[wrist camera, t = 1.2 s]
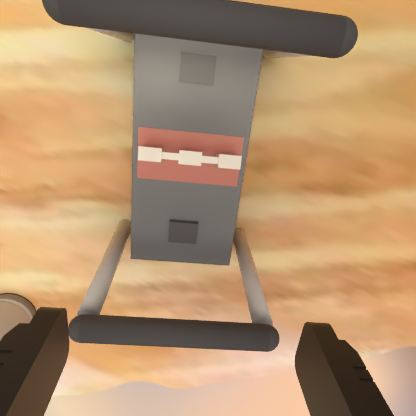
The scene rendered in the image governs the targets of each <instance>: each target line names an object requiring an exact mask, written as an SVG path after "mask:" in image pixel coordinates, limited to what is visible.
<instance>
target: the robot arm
mask: <svg viewBox="0 0 416 416" xmlns="http://www.w3.org/2000/svg"><path fill="white" fill-rule="evenodd" d="M68 352H69V333H68V321H67V311H66V309H65V308H51V307H40V308H39V309H38V310H37V312H36V313H35V315H34V317H33V318H32V320H31V321H30V323H19V324H18V325H16V326H15V327H14V328H13V329H11V330H10V331H9V332H7V333H6V334H5V335H4V336H3V337H2V339H1V340H0V416H44V413H45V411H46V409H47V406H48V404H49V402H50V399H51V397H52V394H53V392H54V390H55V387H56V385H57V383H58V380H59V378H60V375H61V373H62V371H63V368H64V366H65V363H66V360H67V357H68ZM295 369H296V373H297V377H298V379H299V383H300V386H301V389H302V392H303V394H304V398H305V401H306V404H307V407H308V409H309V412H310V415H311V416H394V415H393V413H392V412H391V410H390V408H389V407H388V405H387V403H386V401H385V399H384V398H383V396H382V394H381V392H380V391H379V389H378V387H377V385H376V384H375V382H373V378H372V377H371V375H370V373H369V372H368V370H366V366H365V365H364V363H363V361H362V359H361V357H360V356H359V354H358V352H357V351H356V350H354V349H353V348H352V347H351V346H350V345H349V344H348V343H347V342H346V341H345V340H338V338H337V336H336V334H335V332H334V330H333V328H332V327H331V325H330V324H328V323H313V322H306V323H305V325H304V327H303V331H302V334H301V337H300V341H299V344H298V348H297V351H296V355H295Z"/></svg>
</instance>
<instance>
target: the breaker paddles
mask: <svg viewBox="0 0 416 416" xmlns="http://www.w3.org/2000/svg"><path fill="white" fill-rule="evenodd" d="M163 159H168V160H178V164H184V165H195V166H201V163H211V164H215V167H217V168H227V169H238V170H240V168H241V159H242V156H236V155H225V154H216V157H210V156H202V152H194V151H184V150H179V154H178V153H168V152H164V149H162V148H153V147H142V146H138V160H141V161H152V162H163Z"/></svg>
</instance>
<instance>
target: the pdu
mask: <svg viewBox="0 0 416 416" xmlns="http://www.w3.org/2000/svg"><path fill="white" fill-rule="evenodd" d="M89 29H92V30H95V31H98V32H101V33H104V34H107V35H110V36H113V37H116V38H119V39H122V40H125V41H131V40H132V39H134V37H135V41H134V97H133V154H132V211H131V222H130V221H128V220H121V221H120V222H119V224H118V226H117V229H116V231H115V233H114V235H113V237H112V239H111V242H110V244H109V246H108V248H107V250H106V252H105V255H104V257H103V259H102V261H101V263H100V265H99V268H98V270H97V272H96V274H95V276H94V278H93V281H92V283H91V285H90V287H89V289H88V291H87V294H86V296H85V298H84V300H83V302H82V305H81V307H80V309H79V311H78V315H82V314H90V315H99V314H100V312H101V309H102V306H103V303H104V301H105V298H106V295H107V293H108V290H109V287H110V285H111V282H112V279H113V277H114V274H115V271H116V268H117V266H118V263H119V260H120V258H121V255H122V252H123V250H124V247H125V244H126V242H127V239H128V236H129V233H130V231H131V259H142V260H157V261H171V262H186V263H200V264H215V265H229V263H230V257H231V250H232V244H233V241H234V245H235V249H236V254H237V258H238V262H239V267H240V271H241V275H242V280H243V284H244V289H245V293H246V297H247V302H248V306H249V310H250V315H251V319H252V323H255V324H269V325H271V326H272V320H271V316H270V313H269V310H268V307H267V303H266V300H265V297H264V294H263V290H262V287H261V284H260V281H259V277H258V274H257V271H256V268H255V264H254V261H253V258H252V254H251V251H250V248H249V245H248V241H247V238H246V235H245V232H244V230H242V229H235V225H236V219H237V212H238V206H239V200H240V193H241V187H242V181H243V175H244V168H245V162H246V156H247V149H248V143H249V137H250V130H251V124H252V118H253V111H254V105H255V99H256V92H257V86H258V80H259V73H260V67H261V61H262V55H263V56H264V57H265V58H280V57H296V56H312V55H304V54H296V53H288V52H280V51H271V50H263V49H255V48H247V47H239V46H231V45H223V44H215V43H207V42H199V41H191V40H183V39H175V38H167V37H159V36H151V35H142V34H134V33H126V32H118V31H110V30H102V29H94V28H89ZM138 146H142V147H153V148H162V149H164V152H168V153H178V154H179V150H184V151H194V152H202V156H210V157H216V154H225V155H236V156H242V159H241V168H240V170H238V169H227V168H217V167H215V164H211V163H201V166H195V165H184V164H178V160H168V159H163V162H152V161H141V160H138Z"/></svg>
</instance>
